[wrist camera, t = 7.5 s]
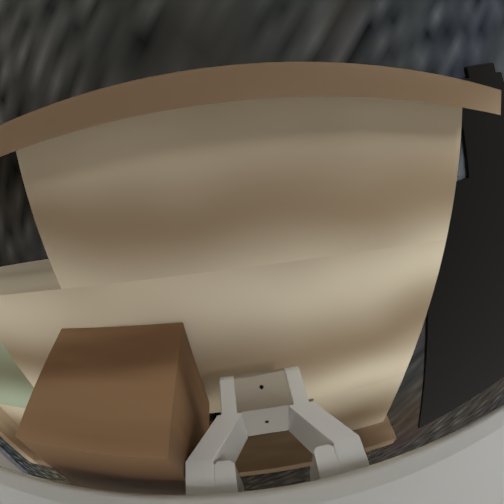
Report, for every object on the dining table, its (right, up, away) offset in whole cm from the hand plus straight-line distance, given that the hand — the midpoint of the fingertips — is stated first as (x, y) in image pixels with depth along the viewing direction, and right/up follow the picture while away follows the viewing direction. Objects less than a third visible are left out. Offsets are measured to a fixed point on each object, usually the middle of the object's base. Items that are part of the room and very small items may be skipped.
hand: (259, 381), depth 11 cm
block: (-5, 0, +1) cm, 5 cm away
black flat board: (+16, +2, +6) cm, 17 cm away
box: (-5, +1, +3) cm, 6 cm away
